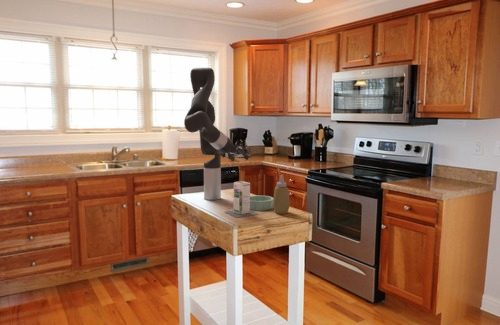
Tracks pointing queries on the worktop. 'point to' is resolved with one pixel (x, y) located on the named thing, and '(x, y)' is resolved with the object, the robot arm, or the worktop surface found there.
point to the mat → (241, 214)
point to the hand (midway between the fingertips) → (240, 158)
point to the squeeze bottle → (281, 197)
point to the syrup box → (241, 197)
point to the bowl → (261, 202)
